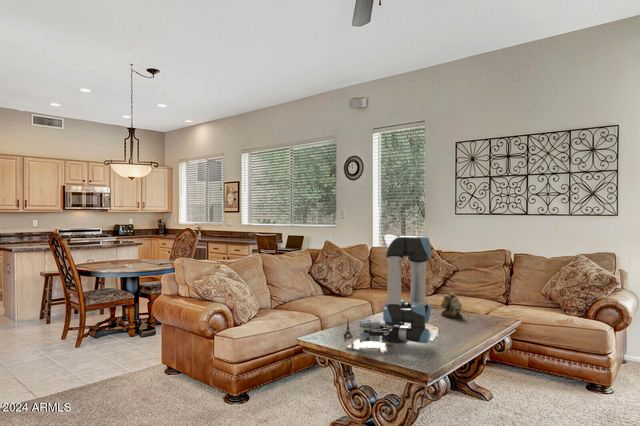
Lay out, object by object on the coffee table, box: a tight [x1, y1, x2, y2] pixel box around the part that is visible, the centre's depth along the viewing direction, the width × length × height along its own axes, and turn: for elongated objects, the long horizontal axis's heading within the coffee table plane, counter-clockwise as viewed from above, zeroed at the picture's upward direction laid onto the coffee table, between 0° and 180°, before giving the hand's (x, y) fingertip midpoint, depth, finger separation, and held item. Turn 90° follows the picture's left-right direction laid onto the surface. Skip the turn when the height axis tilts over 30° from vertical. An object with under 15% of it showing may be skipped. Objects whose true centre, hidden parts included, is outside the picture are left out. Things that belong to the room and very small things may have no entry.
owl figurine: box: [440, 292, 464, 320], centre depth 315 cm, size 18×12×17 cm, turn 34°
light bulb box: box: [359, 318, 381, 342], centre depth 245 cm, size 11×7×11 cm, turn 96°
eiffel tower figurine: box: [335, 317, 360, 339], centre depth 267 cm, size 15×10×13 cm
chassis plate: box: [345, 338, 394, 356], centre depth 246 cm, size 16×22×3 cm
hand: (363, 327), depth 247 cm, fingers closed on light bulb box, 11 cm apart
